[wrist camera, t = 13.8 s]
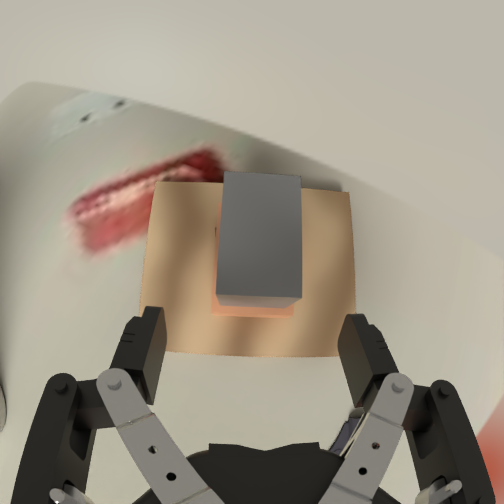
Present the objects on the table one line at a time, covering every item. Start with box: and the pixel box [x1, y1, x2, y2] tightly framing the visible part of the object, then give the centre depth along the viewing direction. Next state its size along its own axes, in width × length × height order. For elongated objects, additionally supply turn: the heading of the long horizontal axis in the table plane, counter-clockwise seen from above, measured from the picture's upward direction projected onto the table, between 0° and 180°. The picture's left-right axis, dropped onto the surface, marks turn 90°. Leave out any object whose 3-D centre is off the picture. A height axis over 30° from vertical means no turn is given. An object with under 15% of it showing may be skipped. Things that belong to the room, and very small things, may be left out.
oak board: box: [139, 182, 356, 357], centre depth 25 cm, size 17×14×2 cm
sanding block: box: [211, 171, 302, 318], centre depth 20 cm, size 6×8×8 cm
